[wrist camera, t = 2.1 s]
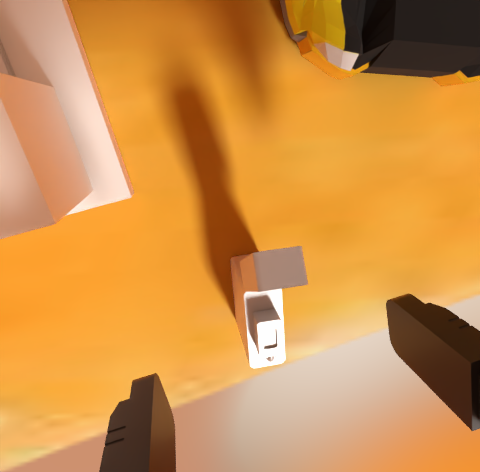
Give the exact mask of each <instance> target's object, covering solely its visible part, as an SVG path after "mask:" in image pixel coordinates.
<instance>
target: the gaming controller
mask: <svg viewBox="0 0 480 472" xmlns="http://www.w3.org/2000/svg"><path fill="white" fill-rule="evenodd" d="M280 4H281V9H282V14H283V18H284V23H285V25H286V28H287V30H288V32H289V35H290V37H291V38H292V39H293V40H295V41H296V43H297V45H298V47H299V49H300V53H301V56H302V57H304V58H305V59H307V60H308V61H309V62H311V63H312V64H314V65H315V66H317V67H318V68H319V69H321V70H322V71H324V72H325V73H326V74H328V75H329V76H332V77H334V78H336V79H343V78H347V77H351V76H354V75H356V74H358V73H359V72H361V73H375V74H390V75H404V76H418V77H432V78H433V79H434V80H435V81H436V82H437V83H438V84H439V85H440V86H448V85H456V84H465V83H470V82H474V81H479V80H480V0H280Z"/></svg>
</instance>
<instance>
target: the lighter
mask: <svg viewBox="0 0 480 472" xmlns="http://www.w3.org/2000/svg"><path fill="white" fill-rule="evenodd" d="M230 264H231V275H232V285H233V295H234V306H235V316H236V322H237V325H238V328H239V332H240V335H241V338H242V342H243V345H244V348H245V351H246V355H247V358H248V361H249V364H250V366H251V367H252V368H259V367H265V366H270V365H276V364H281V363H283V362H284V361H285V344H284V324H283V304H282V288H289V287H295V286H302V285H308V281H307V275H306V269H305V264H304V258H303V252H302V246H297V247H290V248H283V249H276V250H268V251H261V252H255V253H252V254H248V255H240V256H233V257H232V258H231V259H230Z"/></svg>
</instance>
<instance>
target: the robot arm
mask: <svg viewBox="0 0 480 472" xmlns="http://www.w3.org/2000/svg"><path fill="white" fill-rule="evenodd" d="M386 309H387V318H388V326H389V335H390V340H391V344H392V346H393V348H394V350H395V352H396V353H397V354H398V356H399V357H400V358H401V359H402V360H403V361H404V362H405V363H406V364H407V365H408V366H409V367H410V368H411V369H412V370H413V371H414V372H415V373H416V374H417V375H418V376H419V377H420V378H421V379H422V380H423V381H424V382H425V383H426V384H427V385H428V386H429V387H430V389H432V391H433V392H434V393H436V395H437V396H438V397H439V398H440V399H441V400H442V401H443V402H444V403H445V404H446V405H447V406H448V407H449V408H450V409H451V410H452V411H453V412H454V413H455V414H456V415H457V416H458V417H459V418H460V419H461V420H462V421H463V422H464V423H465V424H466V425H467V426H468V427H469V428H470V429H471V430H472V431H474V430H477V429H479V428H480V331H479V330H477V329H476V328H474V327H473V326H470V325H469V324H468V323H467V322H466V321H464V320H462V319H459V317H458V316H457V315H455V314H453V313H452V312H451V311H449V310H448V309H446V308H443V307H440V306H438V305H435V304H432V303H427V304H424V303H423V302H422V301H420V300H419V299H417V298H416V297H414V296H413V295H411V294H406V295H402V296H399V297H396V298H393V299H390V300H388V301H387V303H386ZM107 432H108V434H107V436H106V441H105V447H104V451H103V456H102V461H101V466H100V471H99V472H176V454H175V453H176V452H175V424H174V419H173V414H172V411H171V408H170V405H169V402H168V400H167V397H166V395H165V392H164V389H163V387H162V384H161V381H160V379H159V377H158V375H157V374H156V373H155V374H151V375H148V376H145V377H142V378H139V379H136V380H133V382H132V387H131V394H130V399H127V400H124V401H121V402H119V404H118V405H117V407H116V408H115V410H114V412H113V413H112V415H111V416H110V421H109V426H108V431H107Z"/></svg>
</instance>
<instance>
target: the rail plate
mask: <svg viewBox="0 0 480 472" xmlns="http://www.w3.org/2000/svg"><path fill="white" fill-rule="evenodd" d="M0 39H1V42H2V44H3V46H4V49H5V51H6V54H7V56H8V58H9V61H10V63H11V66H12V68H13V70H14V73H15V75H16V77H18V78H21V79H25V80H29V81H32V82H36V83H40V84H44V85H47V86H51V87H54V89H55V92H56V94H57V97H58V99H59V102H60V105H61V107H62V110H63V112H64V115H65V118H66V120H67V123H68V125H69V128H70V130H71V133H72V136H73V138H74V141H75V143H76V146H77V149H78V151H79V154H80V156H81V159H82V161H83V164H84V167H85V169H86V172H87V174H88V177H89V180H90V182H91V185H92V187H93V190H94V191H93V192H92V193H90V194H89V195H88V196H87V197H86V198H85V199H83V200H82V201H81V202H80V203H79V204H78V205H77V206H75V207H74V208H73V209H72V210H71V211H70V212H69V213H67V214H66V215H69V214H72V213H76V212H80V211H83V210H87V209H91V208H94V207H98V206H102V205H105V204H109V203H112V202H116V201H120V200H123V199H127V198H131V197H132V196H133V194H134V190H133V188H132V185H131V182H130V179H129V176H128V173H127V170H126V168H125V165H124V162H123V159H122V156H121V153H120V150H119V148H118V145H117V142H116V139H115V136H114V133H113V130H112V127H111V125H110V122H109V119H108V116H107V113H106V110H105V107H104V105H103V102H102V99H101V96H100V93H99V90H98V87H97V85H96V82H95V79H94V76H93V73H92V70H91V67H90V65H89V62H88V59H87V56H86V53H85V50H84V47H83V44H82V42H81V39H80V36H79V33H78V30H77V27H76V24H75V22H74V19H73V16H72V13H71V10H70V7H69V4H68V2H67V0H0Z"/></svg>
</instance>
